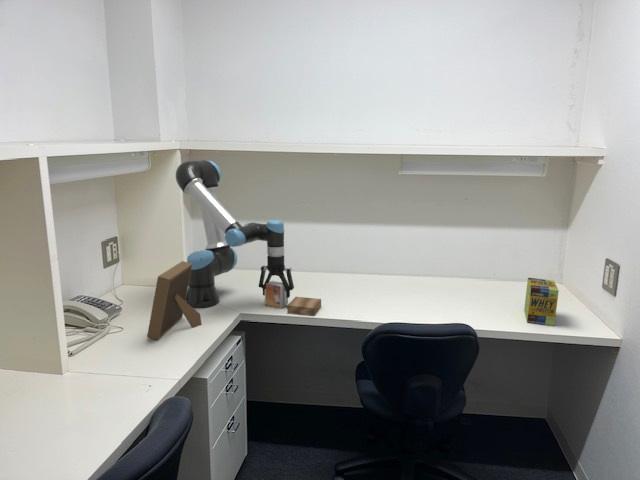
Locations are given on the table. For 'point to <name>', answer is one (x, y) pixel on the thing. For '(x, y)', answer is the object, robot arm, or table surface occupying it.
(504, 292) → the table surface
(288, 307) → the plinth
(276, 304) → the small box
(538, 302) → the protein box
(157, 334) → the photo frame
